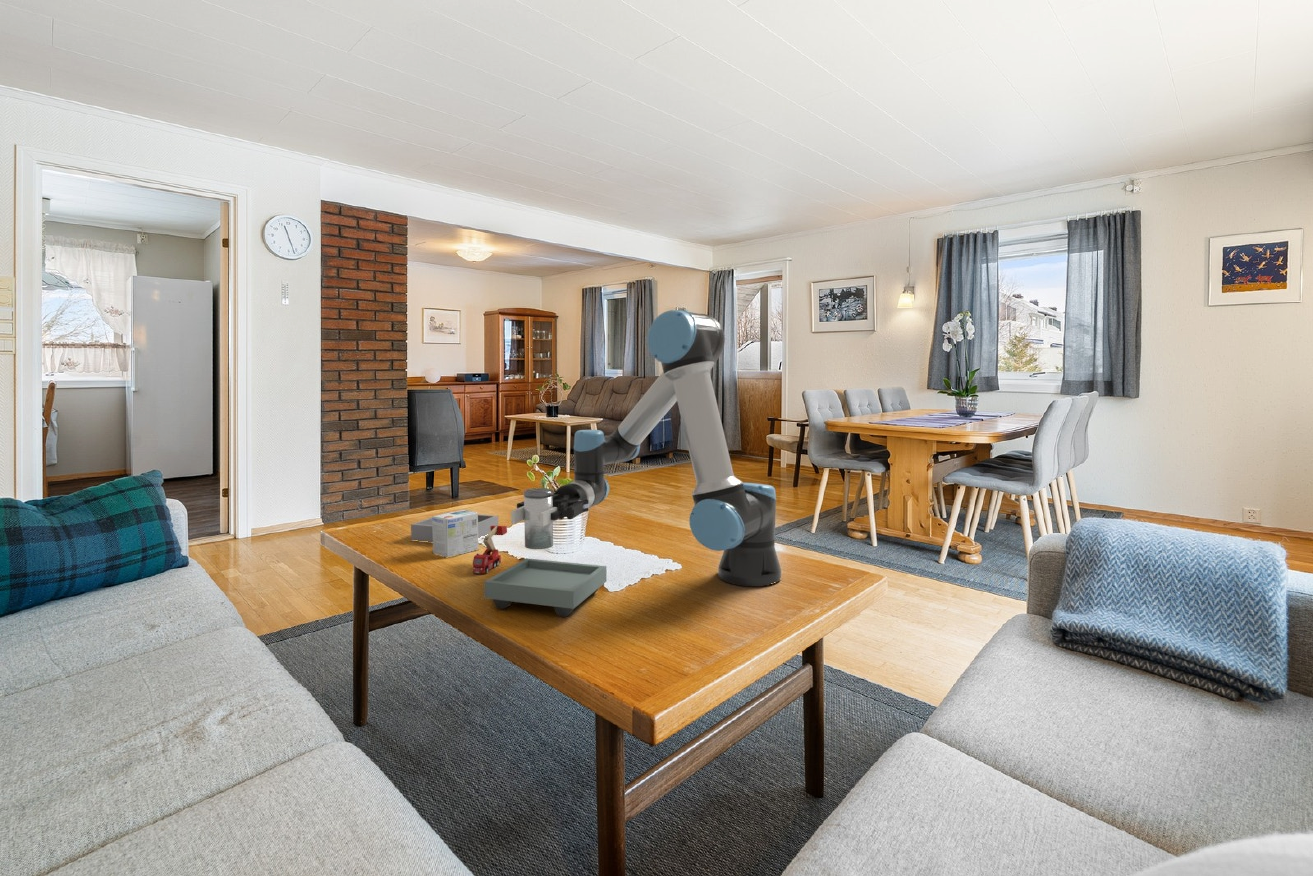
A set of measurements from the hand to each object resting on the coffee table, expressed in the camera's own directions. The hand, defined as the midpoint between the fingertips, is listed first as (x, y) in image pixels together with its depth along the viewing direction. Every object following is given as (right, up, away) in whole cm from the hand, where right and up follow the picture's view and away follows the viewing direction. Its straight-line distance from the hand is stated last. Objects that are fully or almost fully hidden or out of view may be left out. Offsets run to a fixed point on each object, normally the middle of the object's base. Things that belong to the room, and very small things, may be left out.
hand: (527, 518), depth 134 cm
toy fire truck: (-15, -16, +30) cm, 38 cm away
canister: (+1, -7, +6) cm, 9 cm away
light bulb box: (-28, -15, +44) cm, 54 cm away
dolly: (+3, -19, +6) cm, 20 cm away
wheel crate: (-33, -13, +61) cm, 70 cm away
